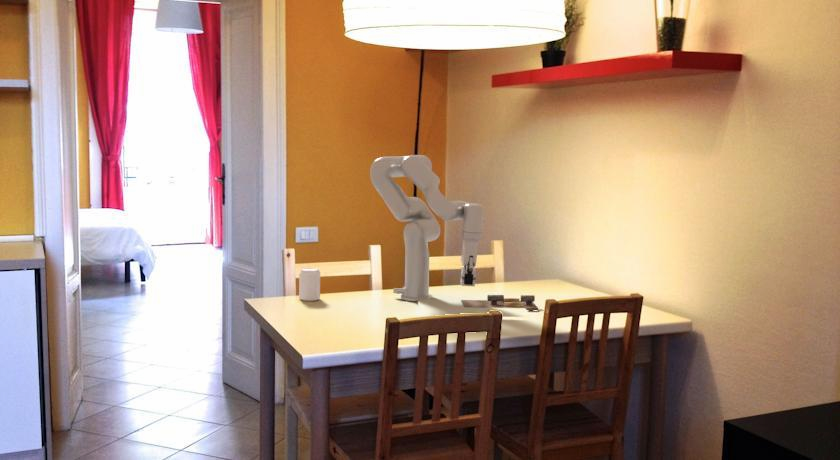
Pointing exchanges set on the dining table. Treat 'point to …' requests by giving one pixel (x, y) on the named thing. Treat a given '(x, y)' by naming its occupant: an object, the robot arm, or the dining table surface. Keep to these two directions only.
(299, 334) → the dining table surface
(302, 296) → the beverage can
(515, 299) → the rig
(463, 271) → the coupler
